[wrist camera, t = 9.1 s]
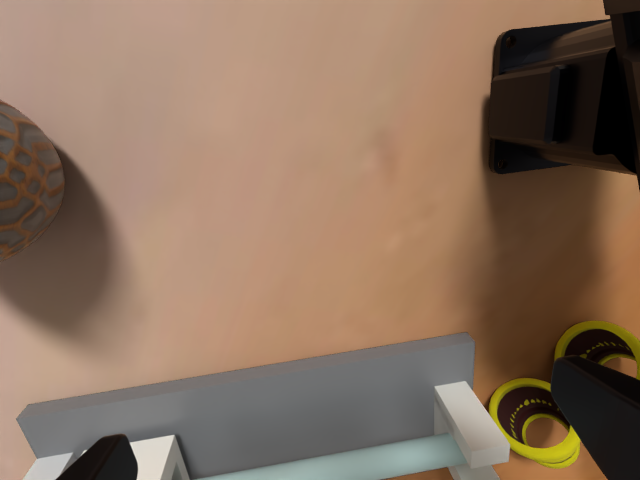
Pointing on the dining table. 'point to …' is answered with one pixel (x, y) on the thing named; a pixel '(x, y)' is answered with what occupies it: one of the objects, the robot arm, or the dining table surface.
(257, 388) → the linear slide rail
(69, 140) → the dining table surface
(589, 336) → the opera glasses
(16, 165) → the vase
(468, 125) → the dining table surface
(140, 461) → the white square tube
